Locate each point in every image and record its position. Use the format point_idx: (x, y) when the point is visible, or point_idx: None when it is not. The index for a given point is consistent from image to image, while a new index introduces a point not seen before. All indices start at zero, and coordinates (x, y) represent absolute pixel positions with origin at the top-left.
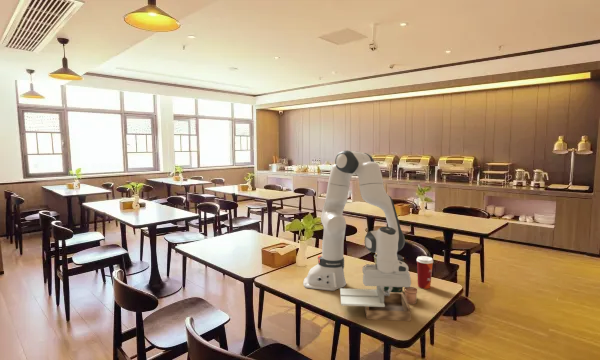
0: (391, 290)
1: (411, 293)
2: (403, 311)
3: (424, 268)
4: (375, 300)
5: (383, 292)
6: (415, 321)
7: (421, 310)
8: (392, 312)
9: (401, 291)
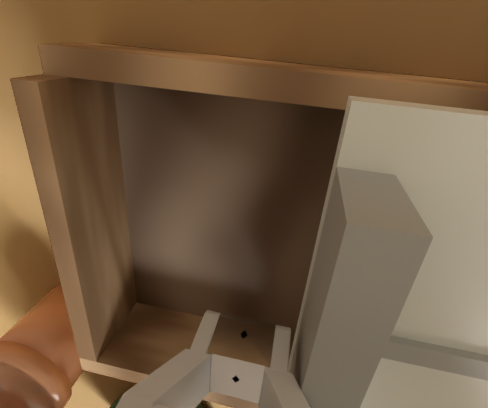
0: (151, 373)
1: (17, 346)
2: (115, 77)
3: None
4: (434, 258)
5: (283, 368)
6: (58, 30)
7: (16, 204)
8: (246, 64)
9: (114, 402)
